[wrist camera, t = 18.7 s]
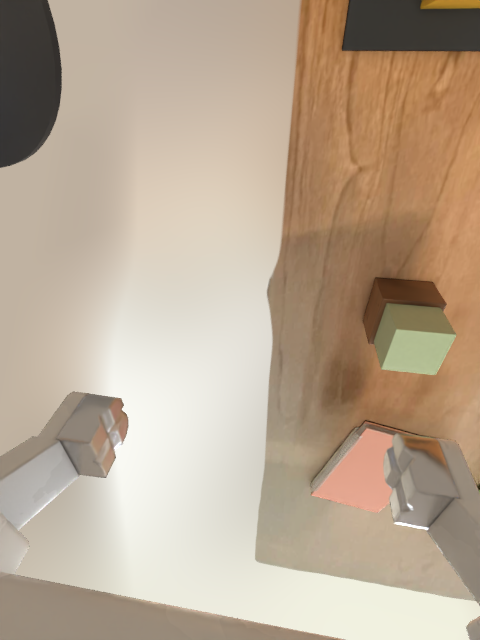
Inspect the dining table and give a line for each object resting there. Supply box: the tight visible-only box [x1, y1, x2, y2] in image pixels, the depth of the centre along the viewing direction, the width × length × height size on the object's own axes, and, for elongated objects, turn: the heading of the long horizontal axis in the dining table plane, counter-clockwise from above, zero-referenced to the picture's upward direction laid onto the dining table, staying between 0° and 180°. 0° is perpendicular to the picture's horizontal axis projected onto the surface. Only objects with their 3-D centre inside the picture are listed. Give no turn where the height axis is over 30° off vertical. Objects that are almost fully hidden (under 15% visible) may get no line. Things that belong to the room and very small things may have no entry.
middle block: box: [374, 303, 456, 375], centre depth 38 cm, size 6×6×5 cm
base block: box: [363, 278, 446, 344], centre depth 42 cm, size 7×7×5 cm
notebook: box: [310, 421, 415, 513], centre depth 67 cm, size 27×17×2 cm, turn 167°
